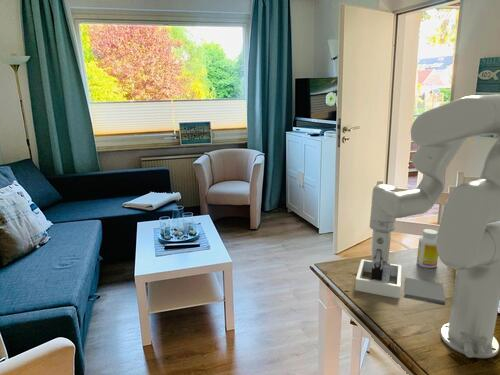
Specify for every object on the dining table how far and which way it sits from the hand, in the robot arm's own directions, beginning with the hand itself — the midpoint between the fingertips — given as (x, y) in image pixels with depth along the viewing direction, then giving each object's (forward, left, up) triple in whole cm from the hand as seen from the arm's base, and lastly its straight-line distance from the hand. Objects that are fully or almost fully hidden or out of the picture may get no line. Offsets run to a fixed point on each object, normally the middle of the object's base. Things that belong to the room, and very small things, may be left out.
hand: (377, 272), depth 120 cm
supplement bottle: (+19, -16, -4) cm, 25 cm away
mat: (-1, -14, -3) cm, 14 cm away
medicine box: (0, -1, -4) cm, 4 cm away
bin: (-1, -1, -3) cm, 3 cm away
